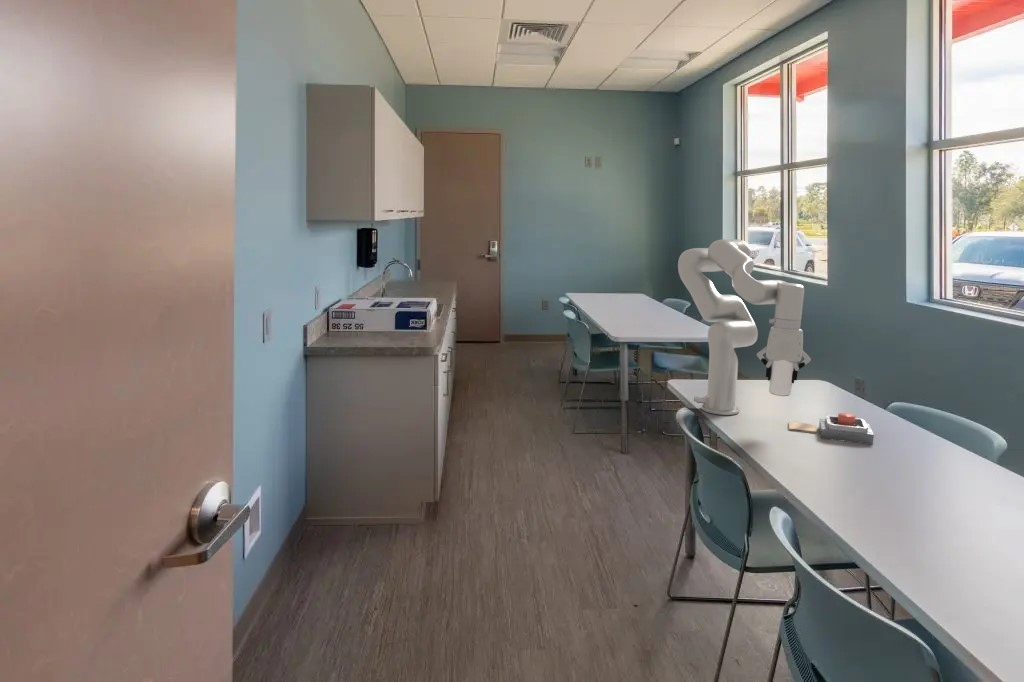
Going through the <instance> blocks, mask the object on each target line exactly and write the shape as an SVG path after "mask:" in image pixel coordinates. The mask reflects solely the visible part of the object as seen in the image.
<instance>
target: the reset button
mask: <svg viewBox="0 0 1024 682" xmlns="http://www.w3.org/2000/svg"><path fill="white" fill-rule="evenodd" d="M837 416H838V422H837V424H838V425H847V426H855V418H857V417H856V415H855V414H852V413H844V412H841V413H840V412H839V413H838V414H837Z"/></svg>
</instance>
